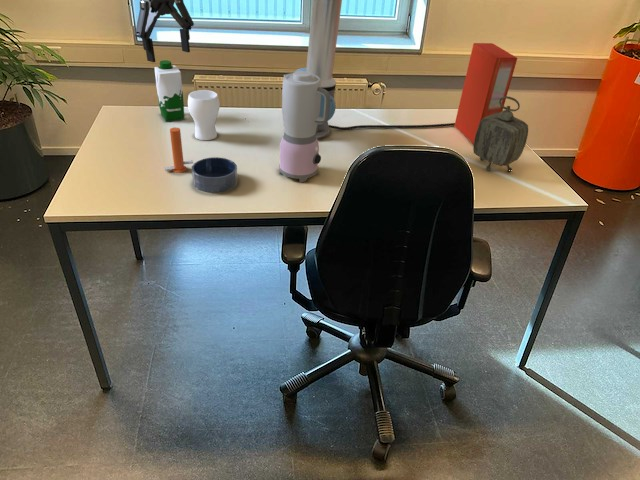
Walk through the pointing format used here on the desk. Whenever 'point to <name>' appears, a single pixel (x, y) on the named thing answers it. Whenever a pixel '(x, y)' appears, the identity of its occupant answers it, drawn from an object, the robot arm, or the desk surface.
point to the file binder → (484, 86)
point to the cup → (204, 113)
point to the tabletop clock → (501, 137)
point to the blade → (177, 152)
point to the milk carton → (169, 91)
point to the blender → (301, 124)
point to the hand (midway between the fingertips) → (169, 56)
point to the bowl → (214, 175)
